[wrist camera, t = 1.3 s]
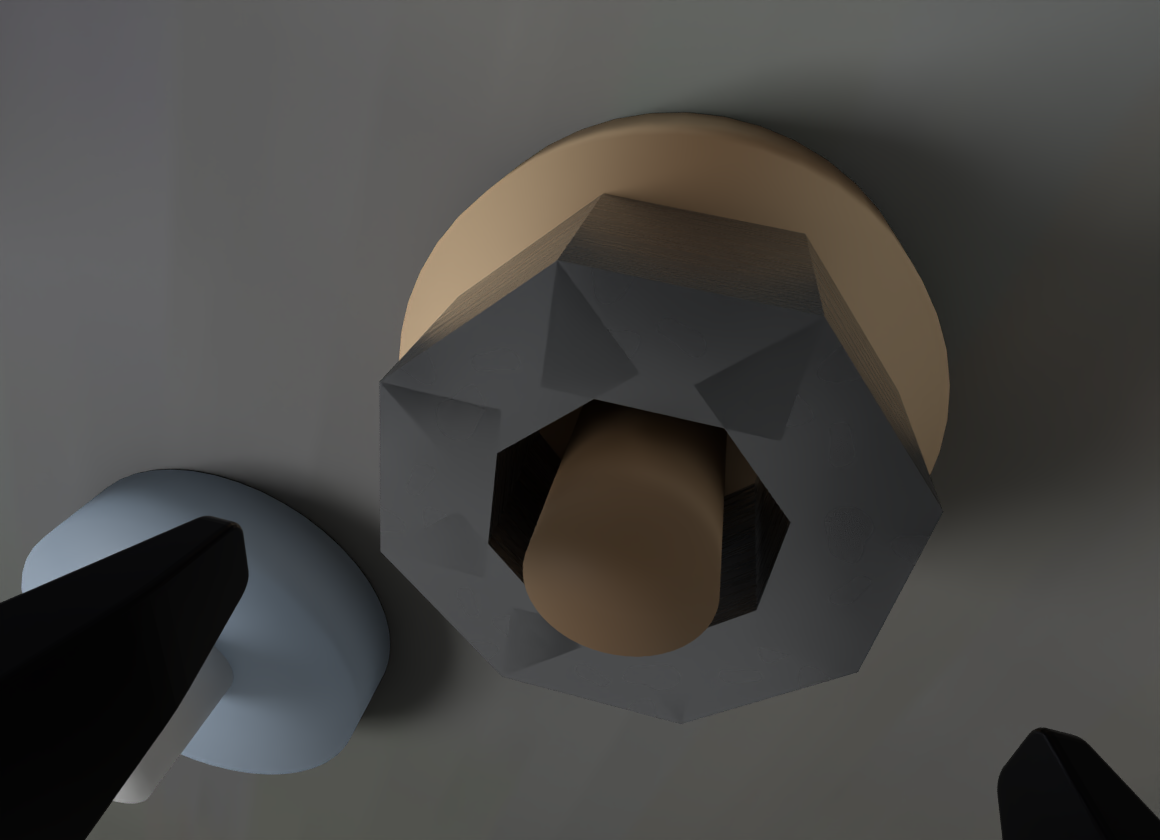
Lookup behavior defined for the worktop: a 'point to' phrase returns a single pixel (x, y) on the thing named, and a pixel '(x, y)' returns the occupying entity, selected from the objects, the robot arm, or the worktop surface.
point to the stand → (660, 442)
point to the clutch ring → (675, 388)
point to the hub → (245, 627)
